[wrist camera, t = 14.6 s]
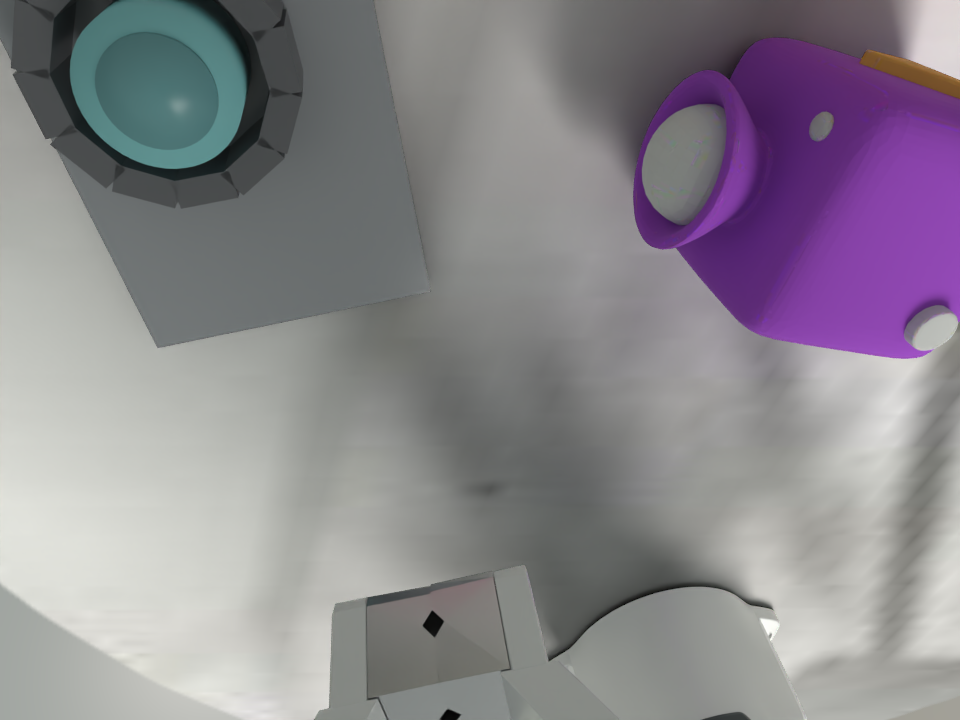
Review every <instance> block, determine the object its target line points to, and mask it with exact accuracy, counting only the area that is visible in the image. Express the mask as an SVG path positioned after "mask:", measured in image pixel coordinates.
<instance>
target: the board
mask: <svg viewBox="0 0 960 720" xmlns="http://www.w3.org/2000/svg"><path fill="white" fill-rule="evenodd" d="M113 1H114V0H77V2H76V12H75V23H74V33H73V44H72V51H73V48H74V46H75V43H76V41H77V39H78V37H79V36H80V34H81V33H82V31H83V30H84V29H85V28H86V27H87V26H88V24H89V23H90V22H91V21H93V20H94V19H95V18H96V17H97V16H98V15H99V14H100V13H101V12H102V11H103V10H104V9H105V8H107V7H108V6H109V5H110V4H111V3H112V2H113ZM213 1H214V2H216V3H217V4H218V5H219V6H220V7H221V8H222V9H223V10H224V11H225V12H226V13H227V14H228V15H229V16H230V17H231V19H232V20H233V21H234V22H235V24H236V25H237V27H238V29H239V30H240V32H241V34H242V36H243V38H244V40H245V42H246V45H247V49H248V52H249V57H250V62H251V80H250V85H249V89H248V93H247V97H246V101H245V105H244V109H243V113H242V117H241V121H240V124H239V127H238V130H237V132H236V134H235V136H234V137H233V139H232V141H231V142H230V143H229V145H228V146H231V145H232V144H233V143H234V142H235V141H236V140H237V139H239V138H240V137H241V136H242V135H243V134H244V133H245V132H246V131H247V130H248V129H249V128H250V127H251V126H253V125H254V124H255V123H256V122H257V121H258V120H259V119H260V118H261V117H262V116H263V113H264V109H265V105H266V101H267V96H268V92H269V87H268V84H267V81H266V77H265V74H264V71H263V68H262V64H261V61H260V58H259V54H258V51H257V48H256V44H255V41H254V38H253V37H252V36H251V35H250V34H249V32H248V31H247V30H246V29H245V28H244V27H243V26H242V25H241V24H240V23H239V22H238V21H237V20H236V19H235V18H234V16H233V15H232V14H231V13H230V12H229V11H228V10H227V9H226V8H225V7H224V6H223V5H222V4H221V3H220V2H219V0H213ZM281 1H282V2H283V3H284V5H283V10H287V12H288V16H289V20H290V23H291V27H292V31H293V34H294V38H295V42H296V46H297V49H298V53H299V57H300V60H301V64H302V68H303V92H302V100H301V104H300V108H299V112H298V115H297V119H296V123H295V127H294V131H293V134H292V138H291V142H290V146H289V149H288V153H287V154H285V158H284V160H282V161H281V162H280V163H279V164H278V165H277V166H276V167H275V168H274V169H272V170H271V171H270V172H269V173H268V174H267V175H266V176H265V177H263V178H262V179H261V180H260V181H259V182H258V183H257V184H256V185H255V186H253V187H252V188H251V189H250V190H249V191H248V192H247V193H246V194H245V195H242V194H241V193H240V194H239V198H235V199H230V200H225V201H219V202H214V203H209V204H204V205H199V206H193V207H188V208H183V209H181V207H180V205H179V203H178V202H177V205H176V208H171V207H167V206H164V205H160V204H156V203H152V202H149V201H145V200H141V199H138V198H134V197H130V196H126V195H123V194H119V193H115V192H112V188H113V183H112V184H110V185H109V186H108V187H107V188H105V187H103V186H102V185H101V184H100V183H98V182H97V181H96V180H95V179H93V178H92V177H91V176H90V175H88V174H87V173H86V172H85V171H83V170H82V169H81V168H79V167H78V166H77V165H76V164H74V163H73V162H72V161H71V160H69V159H68V158H67V157H66V156H64V155H63V154H62V153H61V152H59V151H58V150H57V151H58V153H59V155H60V157H61V159H62V161H63V163H64V165H65V167H66V169H67V171H68V173H69V175H70V177H71V179H72V181H73V183H74V185H75V187H76V189H77V190H78V192H79V194H80V196H81V198H82V200H83V202H84V204H85V206H86V208H87V210H88V212H89V214H90V216H91V218H92V220H93V222H94V224H95V226H96V228H97V230H98V232H99V234H100V236H101V238H102V240H103V242H104V244H105V245H106V247H107V249H108V251H109V253H110V255H111V257H112V259H113V261H114V263H115V265H116V267H117V269H118V271H119V273H120V275H121V277H122V279H123V281H124V283H125V285H126V287H127V289H128V291H129V293H130V295H131V297H132V299H133V300H134V302H135V304H136V306H137V308H138V310H139V312H140V314H141V316H142V318H143V320H144V322H145V324H146V326H147V328H148V330H149V332H150V334H151V336H152V338H153V340H154V342H155V344H156V346H157V348H160V347H165V346H170V345H175V344H180V343H184V342H189V341H194V340H199V339H204V338H209V337H214V336H218V335H223V334H228V333H233V332H238V331H243V330H248V329H252V328H257V327H262V326H267V325H272V324H277V323H282V322H286V321H291V320H296V319H301V318H306V317H311V316H316V315H320V314H325V313H330V312H335V311H340V310H345V309H350V308H354V307H359V306H364V305H369V304H374V303H379V302H384V301H388V300H393V299H398V298H403V297H408V296H413V295H418V294H422V293H427V292H431V289H430V284H429V278H428V273H427V268H426V263H425V258H424V253H423V248H422V243H421V238H420V233H419V228H418V223H417V218H416V213H415V208H414V203H413V198H412V193H411V188H410V183H409V178H408V173H407V168H406V163H405V158H404V153H403V148H402V143H401V138H400V133H399V128H398V123H397V117H396V112H395V107H394V102H393V97H392V92H391V87H390V82H389V77H388V72H387V67H386V62H385V57H384V52H383V47H382V42H381V37H380V32H379V27H378V22H377V17H376V12H375V7H374V2H373V0H281ZM14 4H15V0H0V39H1V41H2V43H3V45H4V47H5V49H6V51H7V53H8V55H9V57H10V59H11V60H12V42H13V23H14ZM16 71H18V70H16ZM55 138H56V137H55ZM55 138H51V139H52V141H54V139H55Z"/></svg>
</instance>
